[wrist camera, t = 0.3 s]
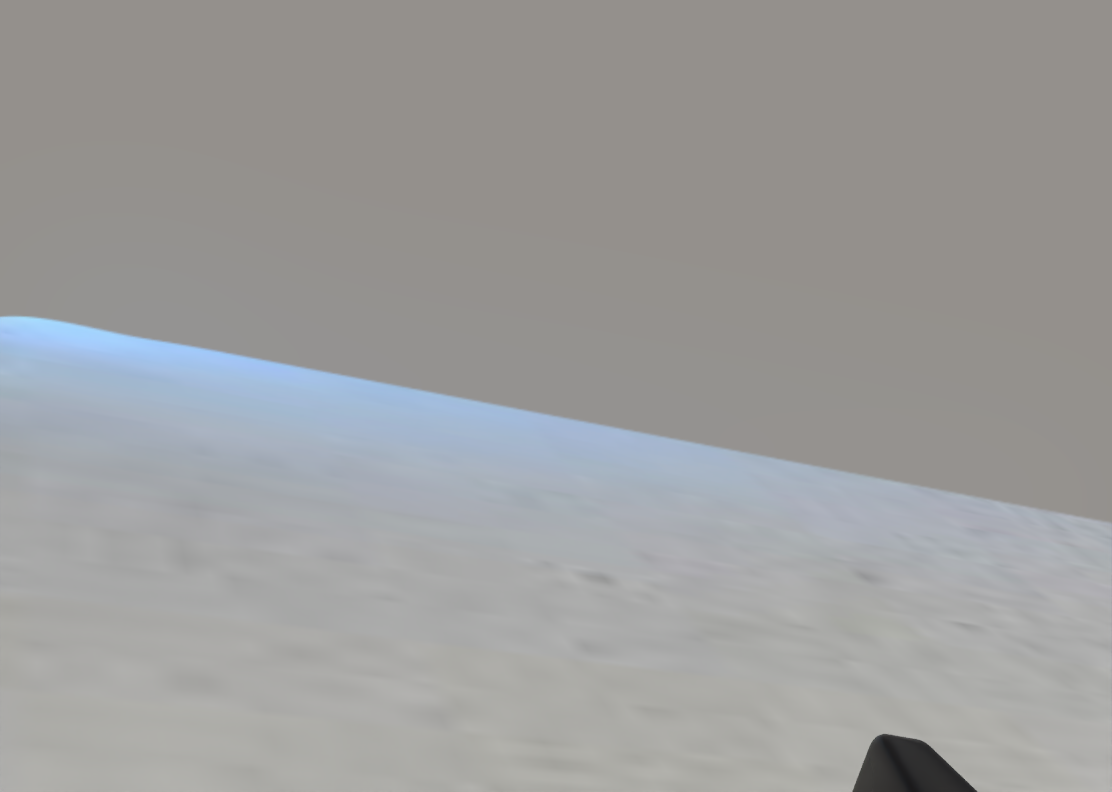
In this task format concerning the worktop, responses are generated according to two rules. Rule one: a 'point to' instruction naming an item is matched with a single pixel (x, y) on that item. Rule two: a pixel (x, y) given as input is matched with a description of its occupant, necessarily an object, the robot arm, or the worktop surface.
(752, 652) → the worktop surface
